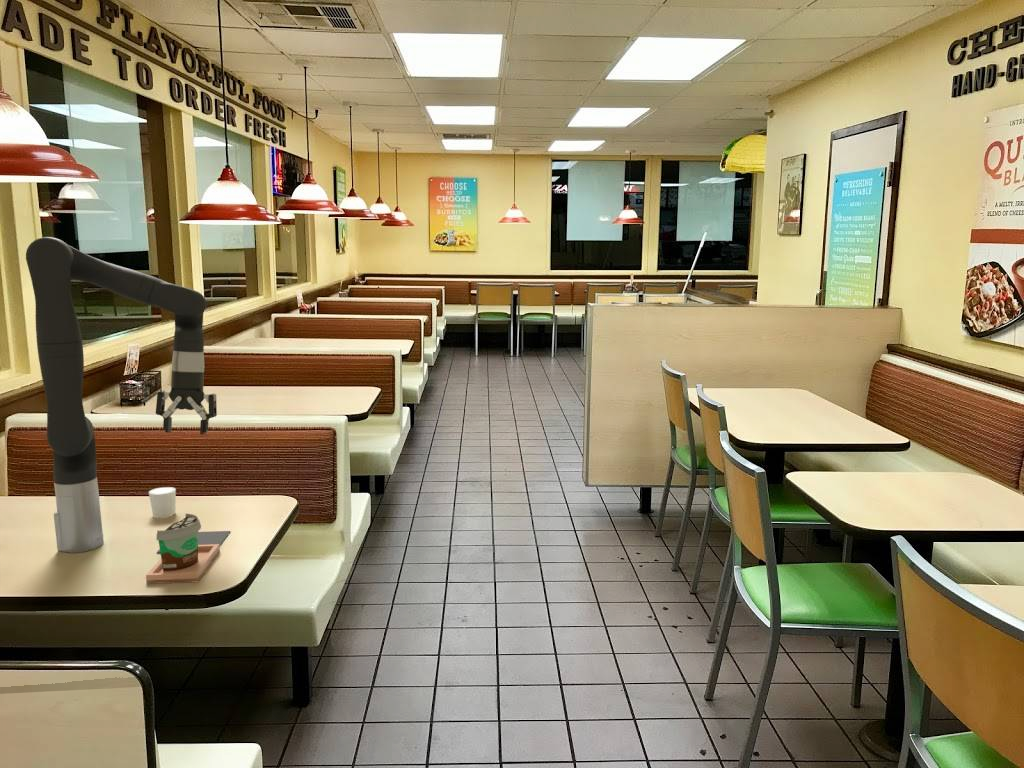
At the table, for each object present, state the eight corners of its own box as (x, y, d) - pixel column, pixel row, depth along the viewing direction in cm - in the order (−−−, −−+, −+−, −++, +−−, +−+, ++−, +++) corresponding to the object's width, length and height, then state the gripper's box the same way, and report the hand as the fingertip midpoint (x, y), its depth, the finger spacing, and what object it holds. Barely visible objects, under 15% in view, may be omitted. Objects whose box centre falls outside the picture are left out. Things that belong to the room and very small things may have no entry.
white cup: (171, 518, 210) (168, 494, 209) (146, 518, 210) (143, 494, 209) (181, 510, 217) (180, 486, 216) (157, 510, 217) (155, 486, 216)
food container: (184, 575, 172) (181, 532, 170) (159, 573, 173) (155, 531, 171) (213, 554, 184) (210, 514, 182) (190, 552, 185) (186, 512, 183)
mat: (156, 553, 186) (156, 552, 186) (175, 533, 199) (174, 532, 199) (216, 551, 188) (216, 550, 188) (230, 531, 200) (230, 530, 200)
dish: (146, 583, 170) (145, 575, 169) (173, 553, 186) (172, 545, 186) (198, 581, 170) (197, 573, 170) (219, 551, 187) (219, 544, 187)
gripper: (153, 368, 190) (150, 433, 191) (212, 372, 191) (209, 436, 192) (164, 367, 197) (162, 429, 198) (221, 370, 198) (219, 432, 199)
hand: (185, 433), depth 195 cm, fingers open, 8 cm apart
